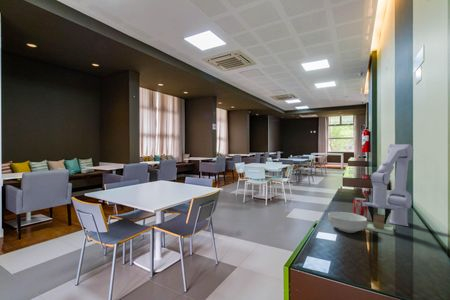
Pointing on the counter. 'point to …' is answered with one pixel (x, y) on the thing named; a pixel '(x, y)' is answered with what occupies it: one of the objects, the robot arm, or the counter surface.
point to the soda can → (359, 207)
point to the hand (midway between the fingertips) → (378, 222)
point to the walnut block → (378, 220)
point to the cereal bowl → (347, 221)
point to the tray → (386, 230)
